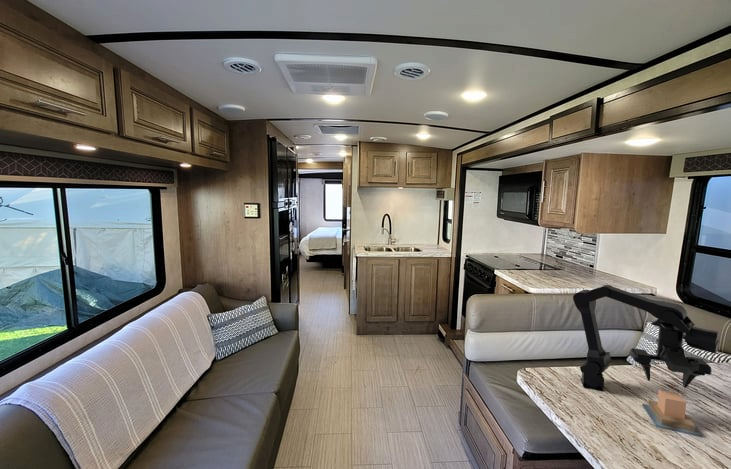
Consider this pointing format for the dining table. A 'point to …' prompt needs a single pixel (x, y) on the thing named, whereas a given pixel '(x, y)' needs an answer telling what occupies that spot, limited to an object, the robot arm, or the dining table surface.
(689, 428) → the foundation block
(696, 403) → the dining table surface
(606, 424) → the dining table surface
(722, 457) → the dining table surface
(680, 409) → the terracotta cube
